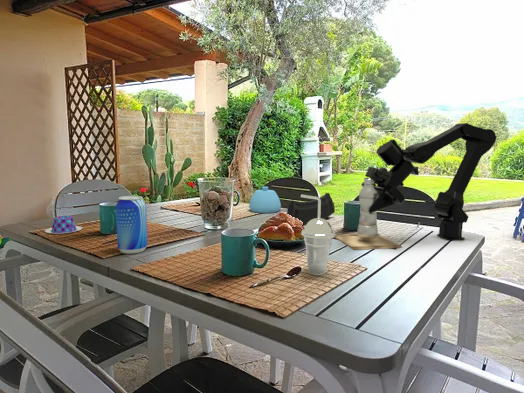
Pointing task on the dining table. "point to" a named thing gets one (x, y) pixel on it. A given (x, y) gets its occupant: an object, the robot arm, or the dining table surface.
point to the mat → (366, 242)
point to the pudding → (63, 225)
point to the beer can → (131, 224)
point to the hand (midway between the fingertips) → (364, 210)
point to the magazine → (311, 209)
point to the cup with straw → (317, 241)
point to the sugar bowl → (265, 201)
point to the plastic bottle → (367, 219)
